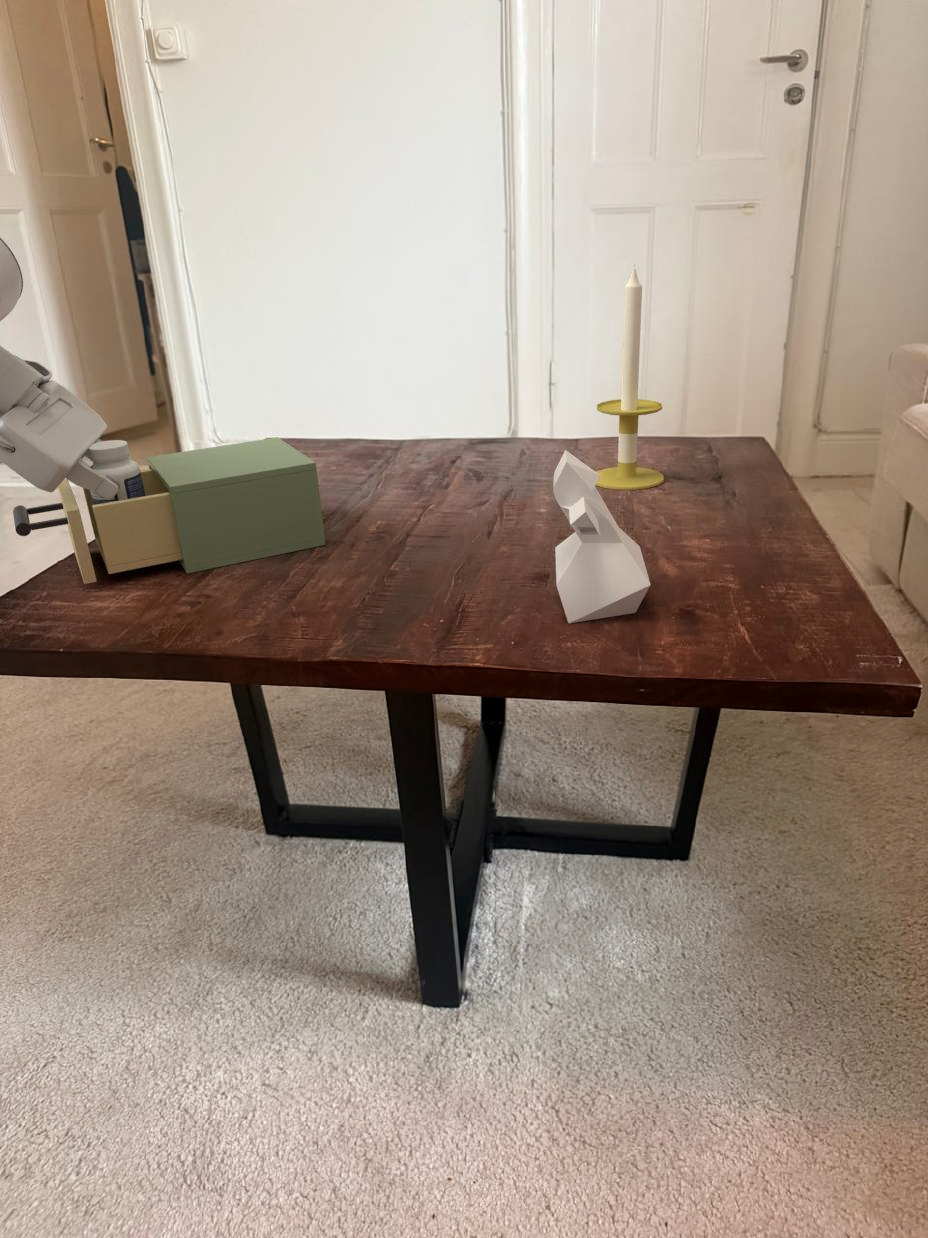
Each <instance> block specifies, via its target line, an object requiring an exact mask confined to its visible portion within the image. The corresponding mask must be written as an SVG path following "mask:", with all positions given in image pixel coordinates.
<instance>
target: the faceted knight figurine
mask: <svg viewBox="0 0 928 1238" xmlns="http://www.w3.org/2000/svg"><path fill="white" fill-rule="evenodd" d="M599 477H600V475H599V474H598V473H596V471H595V470H594V469H593V468H591V467H590V466H588V465H587V464H586V463H584V462H583V461H582V460H580V458H578V457H576V456H575V455H573V453H571V452H569V451H568V450H567V449H565V450H564V452H563V454H562V456H561V458H560V460H559V462H558V464H557V466H556V468H555V470H554V472H553V477H552V486H553V487H552V489H553V496H554V499H555V500H556V502H557V504H558V505H559V507H560V509H561V510H562V512H563V514H564V515H565V518H566V519H567V520H568V523H569V526H570V527H571V528H572V529H573V530H574V531H573V533H572V534H571V535H569V536H568V537H567V538H565V539H564V540H563V541H561V542H560V543H559V544H558V545H556V546H555V548H554V549H555V550H554V552H555V577H556V578H555V582H556V585H555V586H556V589H557V592H558V595H559V598H560V602H561V604H562V608H563V611H564V615H565V618H566V620H567V624H575V623H580V622H581V623H582V622H586V621H592V620H599V619H607V618H612V617H618V616H623V615H624V616H625V615H630V614H636V613H637V612H638V609H639V607H640V605H641V604H642V602H643V600H644V599H645V596H646V594H647V593H648V591H649V589H650V587H651V582H650V577H649V574H648V570H647V567H646V564H645V560H644V556H643V553H642V550H641V546H640V545H639V544H638V543H637V542H636V541H635V540H633V539H632V538H631V537H630V536H629V535H628V534H627V533H626V532H625V531H624V530H623V529H622V528H620V526H618V523H617V522H616V520H615V518H614V517H613V515H612V513H611V511H610V509H609V507H608V506H607V504H606V503H605V501H604V499H603V497H602V496H601V494H600V493H599V491H598V489H597V488H596V486H597V485H596V483H597V481H598V479H599Z"/></svg>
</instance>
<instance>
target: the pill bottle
mask: <svg viewBox="0 0 928 1238" xmlns="http://www.w3.org/2000/svg"><path fill="white" fill-rule="evenodd" d="M101 441H102V442H98V443H94V444H92V445H91V446H90V447H89V449H88V453H89V458H90V459H89V458H88V459H89V461H90V462H92V465H90V468H91V469H93V470H95V471H97V472H98V473H100V474H102V475H104V476H105V477H106V476H107V475H108V476H110V477H111V478H113V479H114V480H115V481H117V482H118V483H119V484H120V489H119V491H118V492H117V493H116V495H115V496H114V497H113V498H112V499H111V500H106V499H105V498H103V497H102V496H100V495H99V494H97V493H96V492H93V491H91V490H90V492H91V496H92V500H93V504H94V505H96V504H102V503H108V502H114V501H120V500H126V499H132V498H138V497H144V496H146V495H145V491H144V486H143V481H142V477H141V472H140V470H141V469H140V465H139V464H138V462H136V461H135V460H132V459H129V457H130V455H131V454H130V453H131V452H130V448H129V445H128V442H127V441H126V440H122V439H110V440H101Z"/></svg>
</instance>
